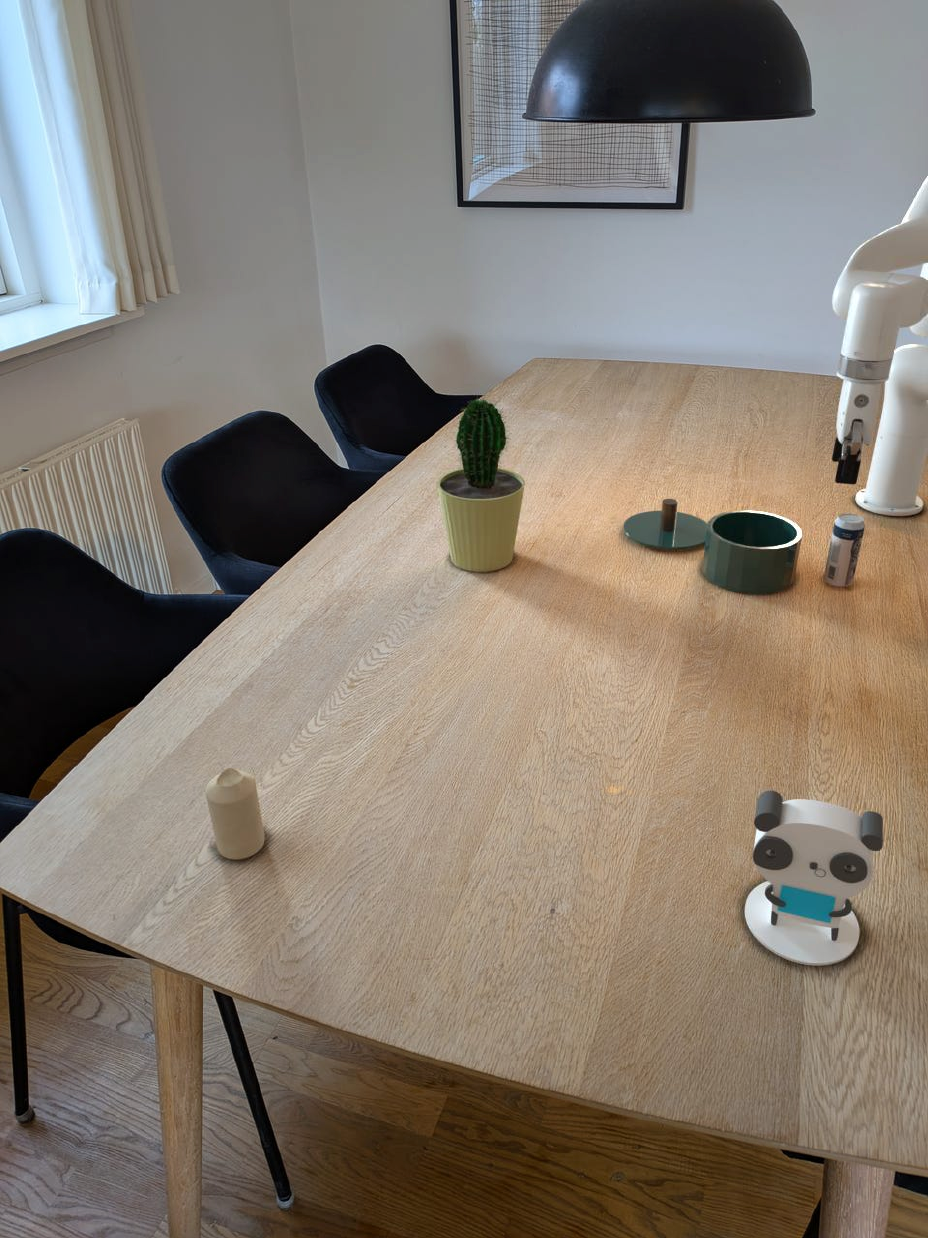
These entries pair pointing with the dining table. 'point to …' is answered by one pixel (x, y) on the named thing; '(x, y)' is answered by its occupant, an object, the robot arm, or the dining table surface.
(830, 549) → the beer can
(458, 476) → the potted cactus
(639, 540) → the lid
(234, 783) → the candle
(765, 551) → the pot
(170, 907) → the dining table surface
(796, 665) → the dining table surface
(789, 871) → the panda figurine
